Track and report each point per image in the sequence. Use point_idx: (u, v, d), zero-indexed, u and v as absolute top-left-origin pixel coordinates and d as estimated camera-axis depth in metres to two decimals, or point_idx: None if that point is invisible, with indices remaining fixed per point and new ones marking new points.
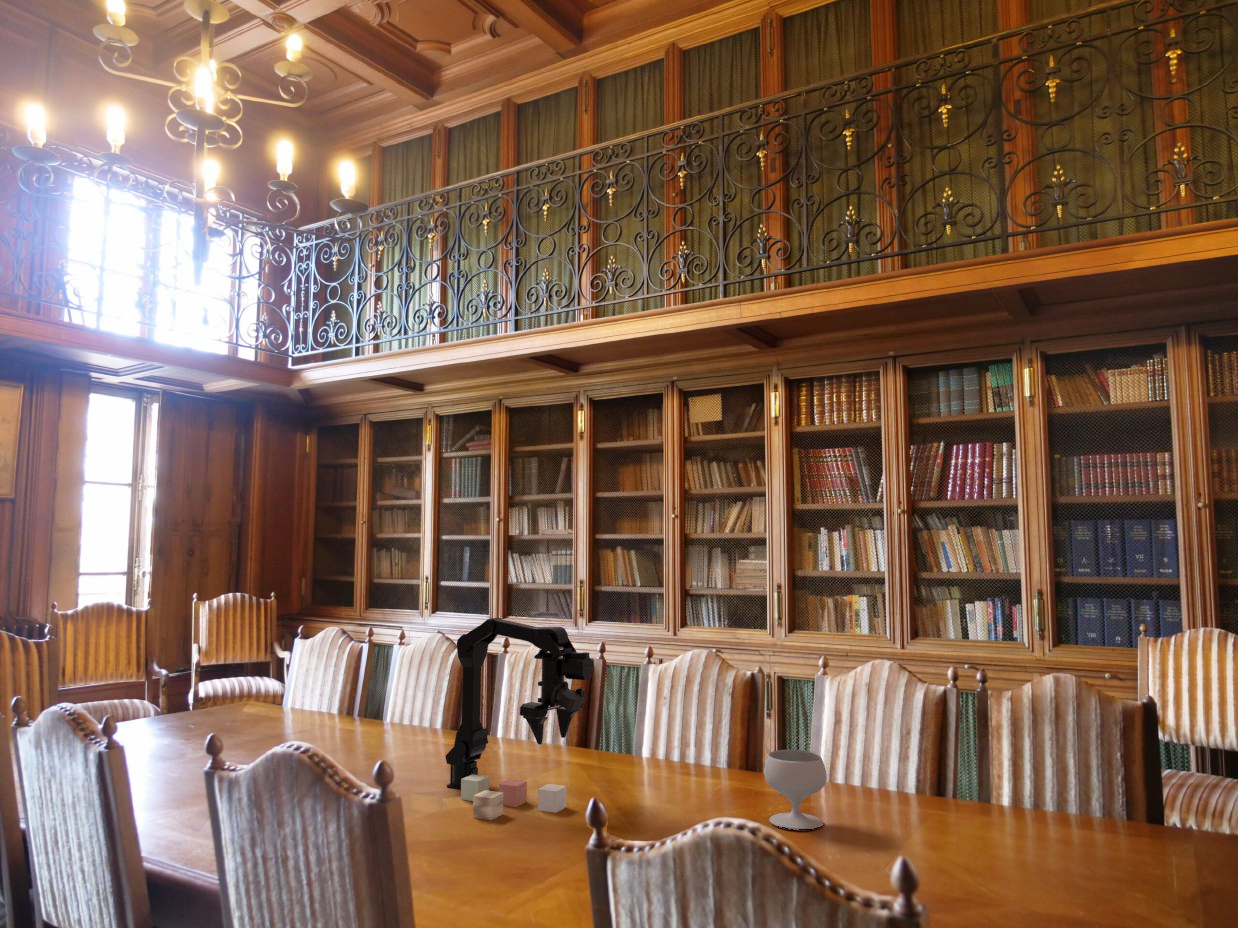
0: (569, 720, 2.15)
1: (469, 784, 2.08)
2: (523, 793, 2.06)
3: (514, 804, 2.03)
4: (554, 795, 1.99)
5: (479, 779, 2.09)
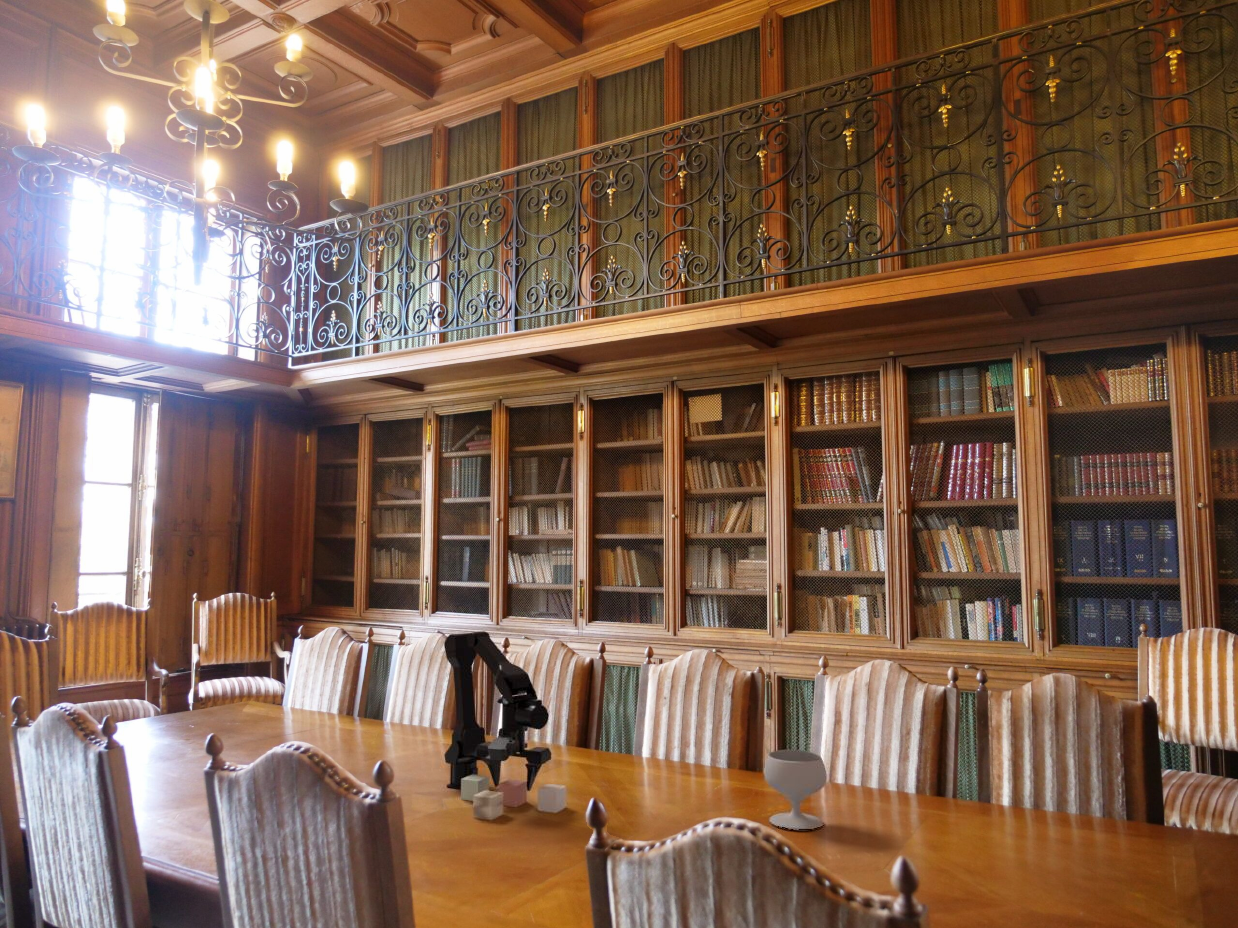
0: (529, 774, 2.03)
1: (469, 784, 2.08)
2: (523, 793, 2.06)
3: (514, 804, 2.03)
4: (554, 795, 1.99)
5: (479, 779, 2.09)
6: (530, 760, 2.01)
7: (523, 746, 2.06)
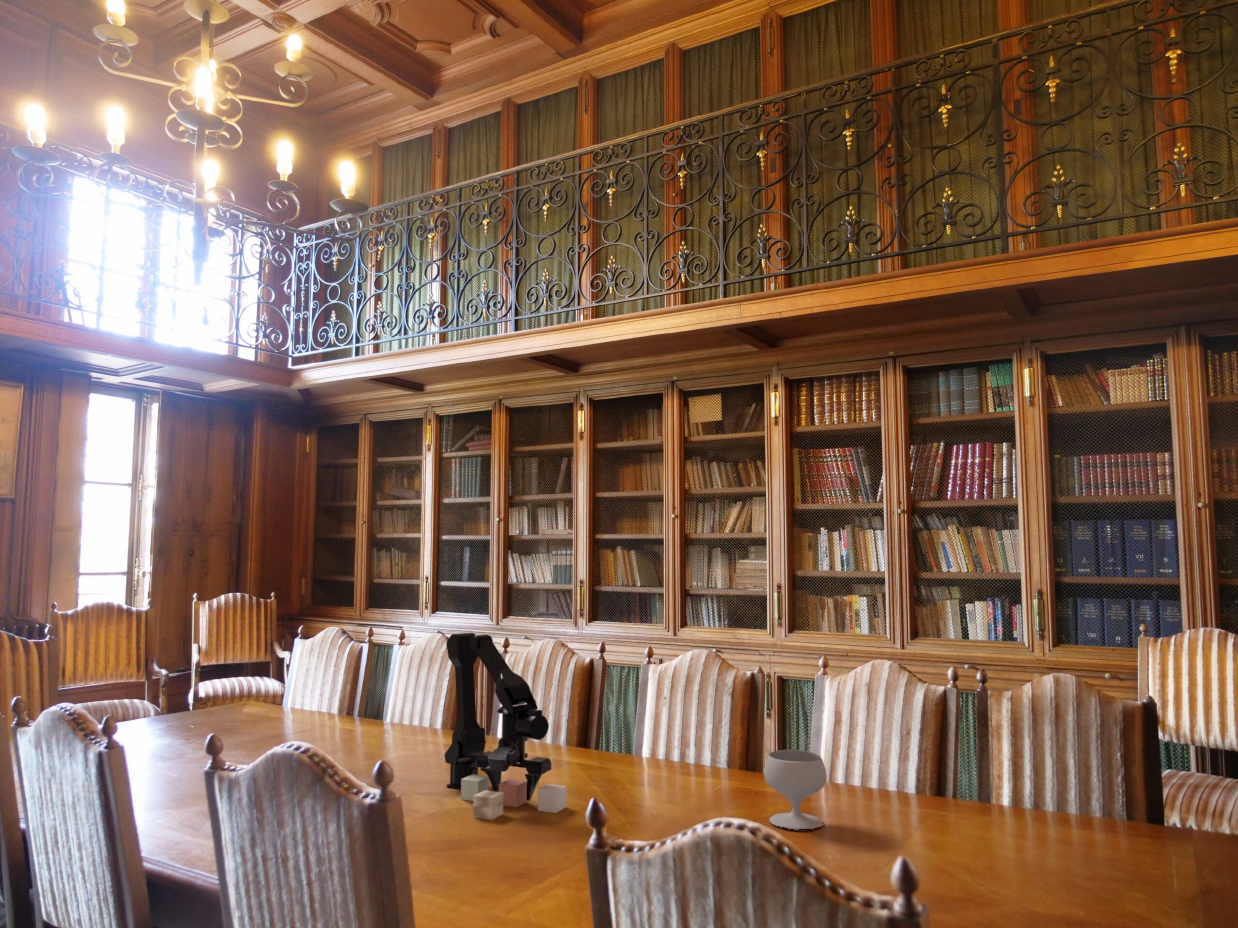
0: (528, 784, 2.03)
1: (469, 784, 2.08)
2: (523, 793, 2.06)
3: (514, 804, 2.03)
4: (554, 795, 1.99)
5: (479, 779, 2.09)
6: (530, 770, 2.01)
7: (523, 756, 2.06)
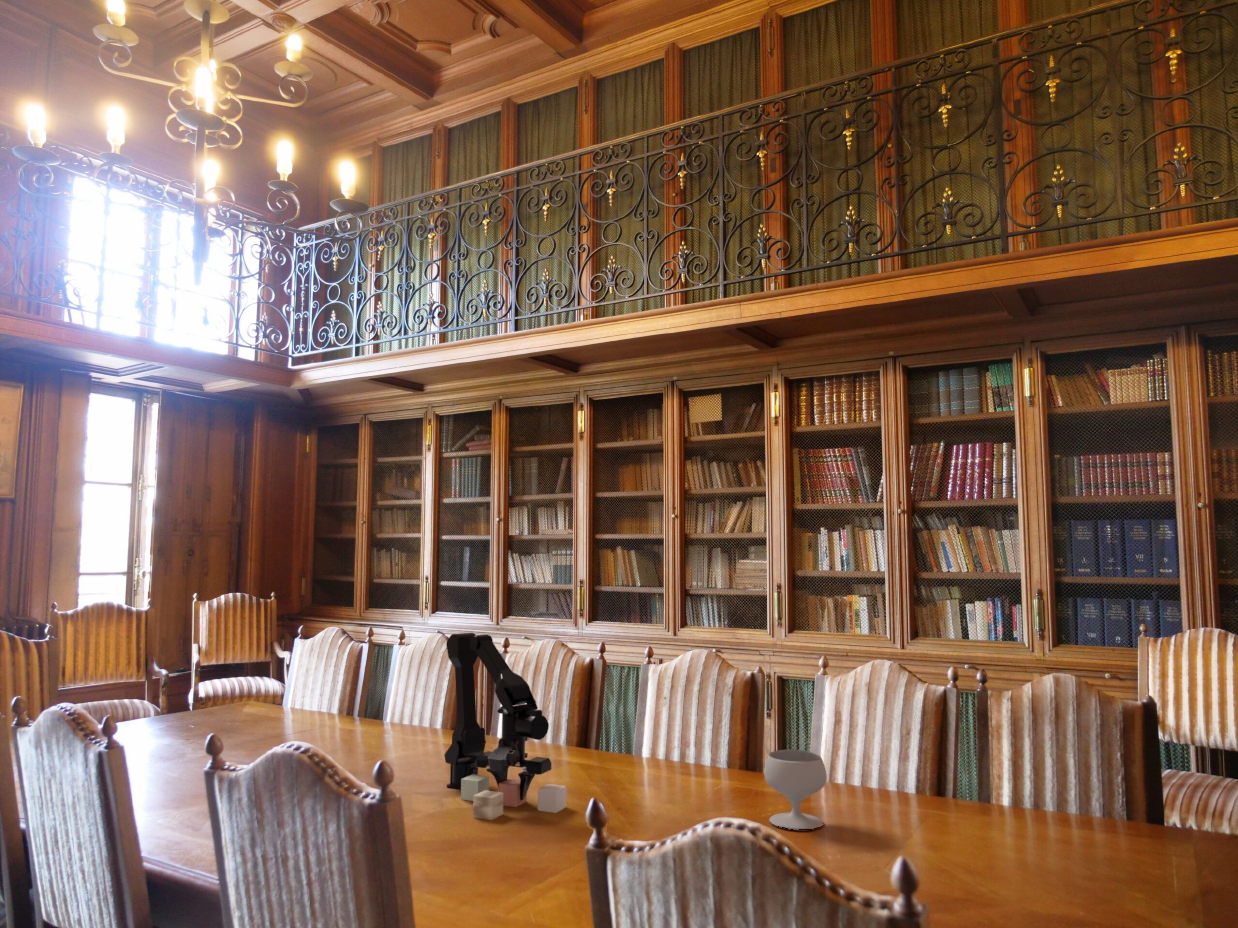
0: (522, 783, 2.04)
1: (469, 784, 2.08)
2: None
3: (514, 804, 2.03)
4: (554, 795, 1.99)
5: (479, 779, 2.09)
6: (530, 770, 2.01)
7: (523, 756, 2.06)
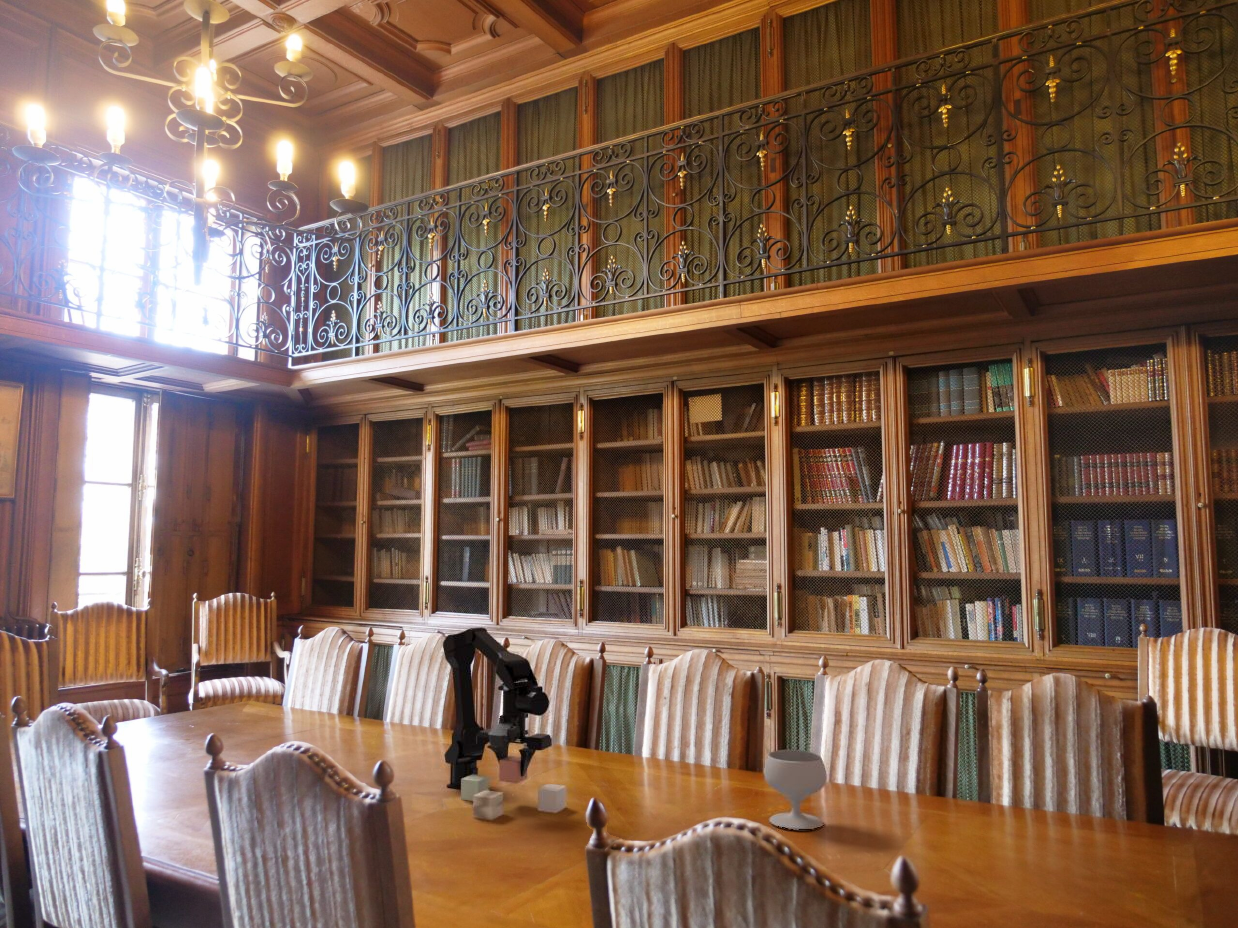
0: (523, 759, 2.04)
1: (469, 784, 2.08)
2: None
3: (515, 780, 2.03)
4: (554, 795, 1.99)
5: (479, 779, 2.09)
6: (531, 746, 2.02)
7: (524, 733, 2.06)
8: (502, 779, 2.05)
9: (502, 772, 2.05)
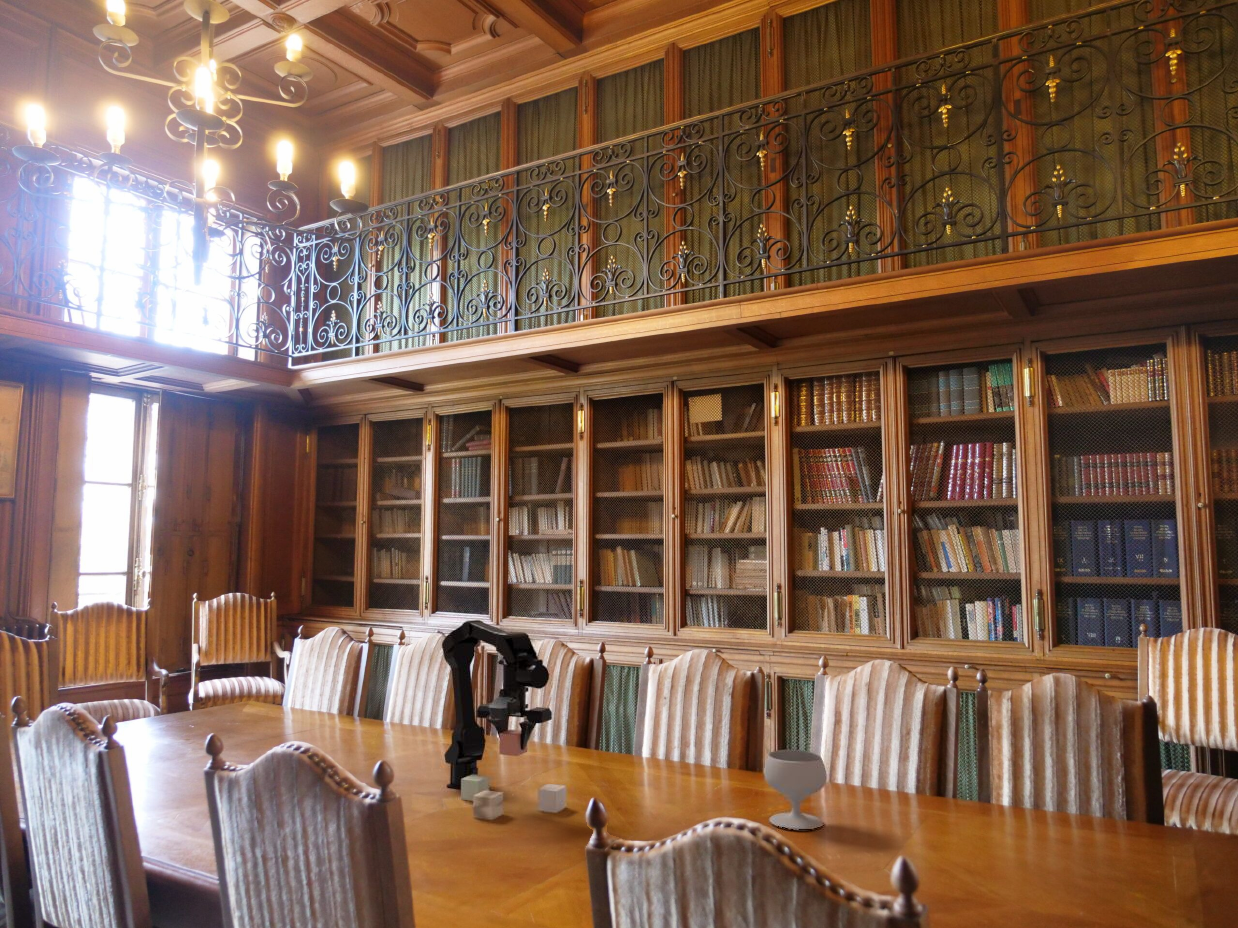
0: (523, 732, 2.05)
1: (469, 784, 2.08)
2: None
3: (515, 753, 2.04)
4: (554, 795, 1.99)
5: (479, 779, 2.09)
6: (531, 719, 2.02)
7: (524, 706, 2.07)
8: (502, 752, 2.05)
9: (502, 745, 2.06)
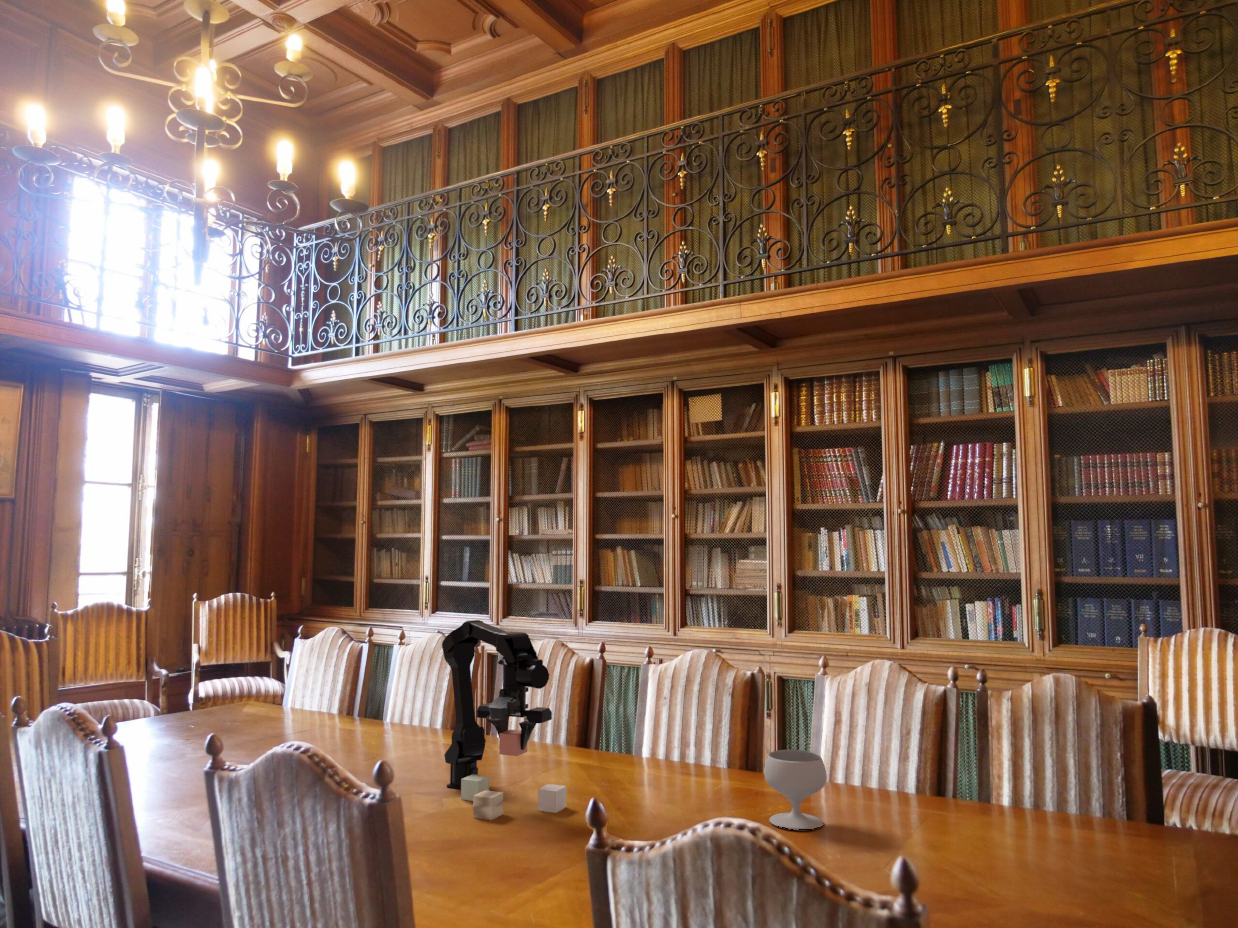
0: (523, 732, 2.05)
1: (469, 784, 2.08)
2: None
3: (515, 753, 2.04)
4: (554, 795, 1.99)
5: (479, 779, 2.09)
6: (531, 719, 2.02)
7: (524, 706, 2.07)
8: (502, 752, 2.05)
9: (502, 745, 2.06)
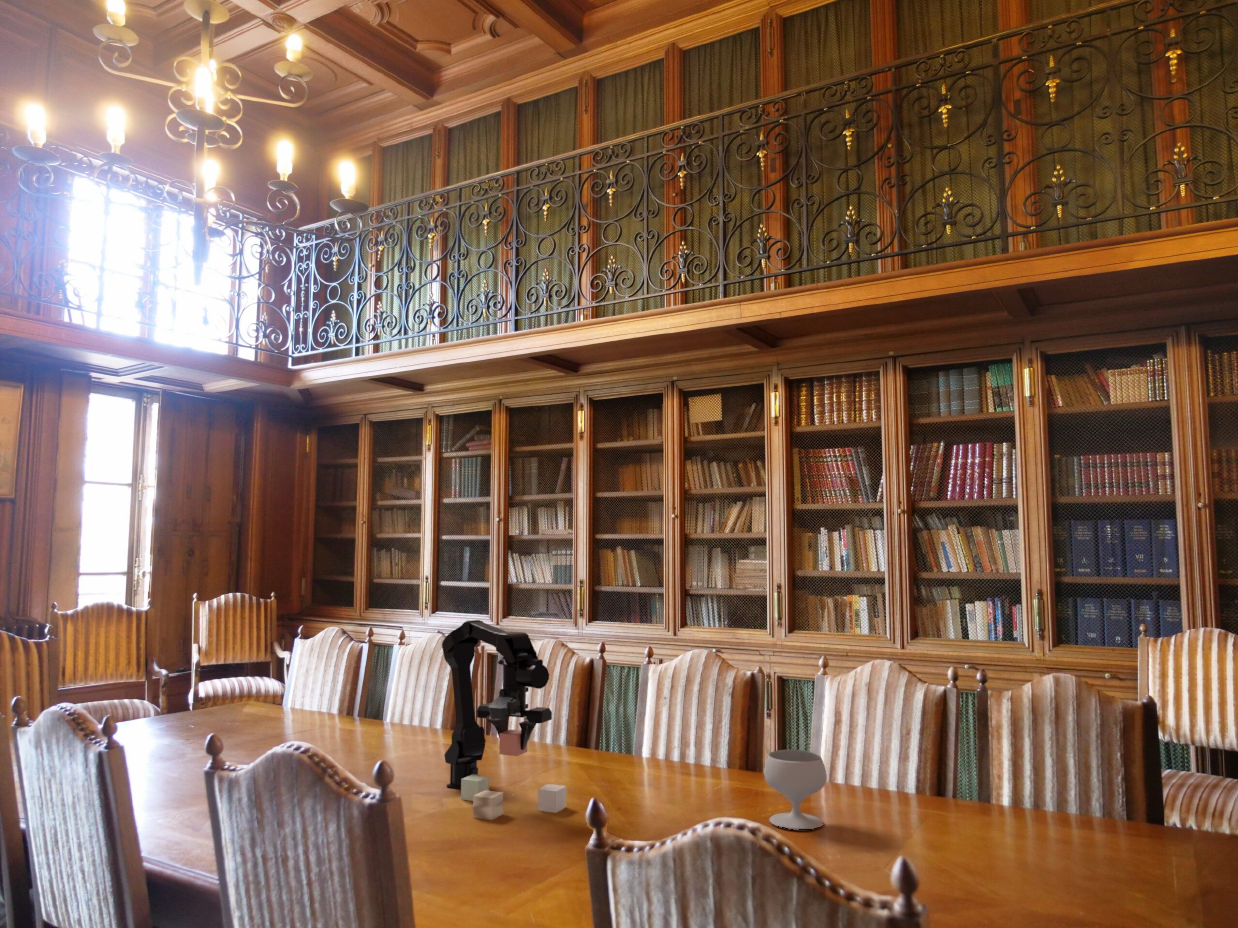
0: (523, 732, 2.05)
1: (469, 784, 2.08)
2: None
3: (515, 753, 2.04)
4: (554, 795, 1.99)
5: (479, 779, 2.09)
6: (531, 719, 2.02)
7: (524, 706, 2.07)
8: (502, 752, 2.05)
9: (502, 745, 2.06)
